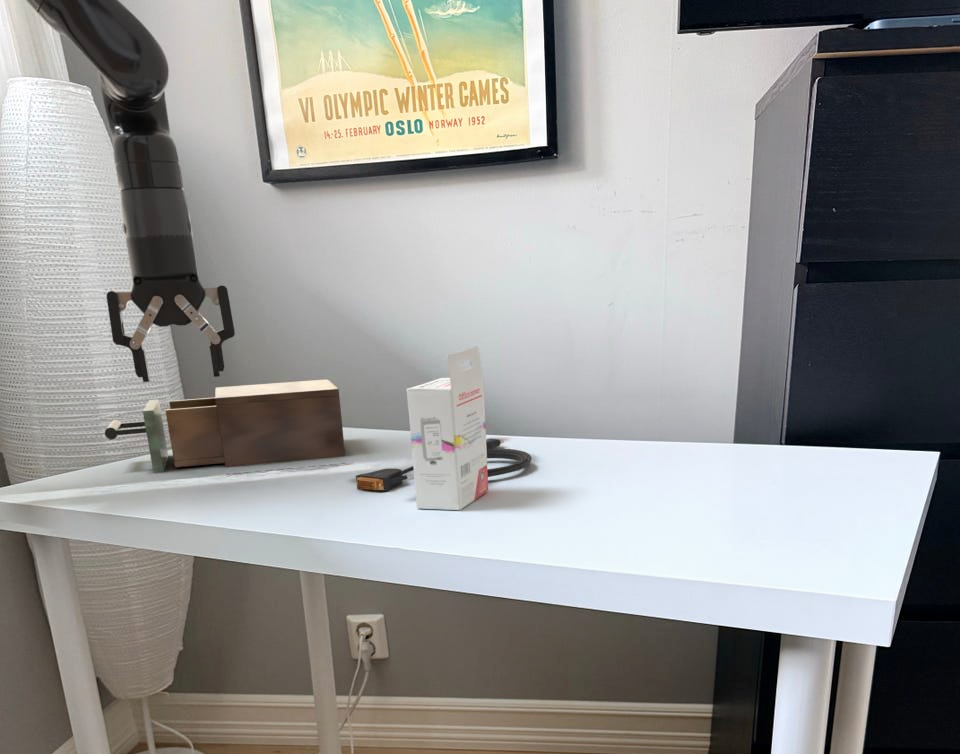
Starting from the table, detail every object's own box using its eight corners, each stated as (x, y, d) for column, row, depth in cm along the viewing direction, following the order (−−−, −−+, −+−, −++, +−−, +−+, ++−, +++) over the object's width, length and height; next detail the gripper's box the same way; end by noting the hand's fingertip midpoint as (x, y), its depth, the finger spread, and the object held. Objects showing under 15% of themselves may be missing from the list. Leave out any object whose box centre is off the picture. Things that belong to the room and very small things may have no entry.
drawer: (110, 477, 110) (98, 414, 107) (119, 460, 120) (108, 403, 118) (267, 462, 114) (259, 402, 111) (263, 447, 124) (256, 392, 122)
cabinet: (226, 474, 113) (215, 398, 109) (225, 457, 124) (215, 387, 121) (346, 463, 116) (338, 388, 113) (334, 447, 127) (327, 379, 124)
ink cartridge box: (446, 490, 99) (437, 346, 94) (489, 491, 97) (483, 345, 92) (413, 509, 92) (401, 354, 86) (460, 511, 90) (451, 353, 84)
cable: (583, 452, 116) (583, 439, 115) (453, 501, 94) (452, 486, 94) (492, 445, 123) (491, 434, 122) (352, 489, 101) (350, 476, 101)
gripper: (221, 233, 113) (240, 372, 119) (97, 238, 109) (123, 380, 115) (222, 230, 106) (242, 377, 112) (89, 234, 103) (117, 386, 109)
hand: (181, 378), depth 114 cm, fingers open, 8 cm apart
